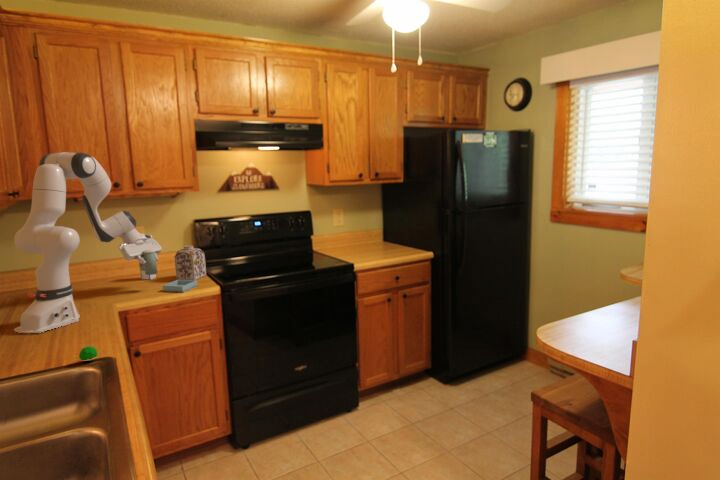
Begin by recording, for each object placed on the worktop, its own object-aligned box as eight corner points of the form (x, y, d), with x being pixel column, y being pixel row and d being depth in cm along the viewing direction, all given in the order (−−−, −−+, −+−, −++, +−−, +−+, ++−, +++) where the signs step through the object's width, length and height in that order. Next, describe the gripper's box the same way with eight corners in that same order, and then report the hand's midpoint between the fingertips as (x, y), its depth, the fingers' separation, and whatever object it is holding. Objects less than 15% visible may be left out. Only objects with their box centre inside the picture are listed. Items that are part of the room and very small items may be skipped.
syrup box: (156, 277, 253) (153, 252, 250) (150, 280, 247) (147, 254, 245) (146, 277, 253) (143, 252, 251) (140, 280, 248) (137, 254, 245)
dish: (182, 292, 220) (182, 286, 219) (163, 291, 223) (162, 285, 222) (197, 286, 231) (197, 280, 230) (178, 285, 234) (178, 279, 233)
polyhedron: (82, 359, 145) (80, 345, 144) (100, 357, 146) (98, 343, 146) (78, 365, 140) (76, 351, 139) (96, 363, 142) (94, 348, 141)
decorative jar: (176, 280, 245) (172, 247, 242) (188, 274, 256) (185, 243, 253) (195, 280, 242) (192, 248, 239) (207, 275, 253) (204, 244, 250)
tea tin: (152, 275, 221) (149, 252, 219) (142, 274, 223) (139, 251, 221) (160, 272, 227) (158, 249, 225) (150, 272, 228) (148, 249, 227)
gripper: (119, 240, 215) (136, 261, 213) (154, 234, 234) (169, 254, 232) (114, 249, 218) (130, 270, 215) (148, 242, 236) (164, 262, 234)
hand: (151, 261), depth 224 cm, fingers closed on tea tin, 5 cm apart
